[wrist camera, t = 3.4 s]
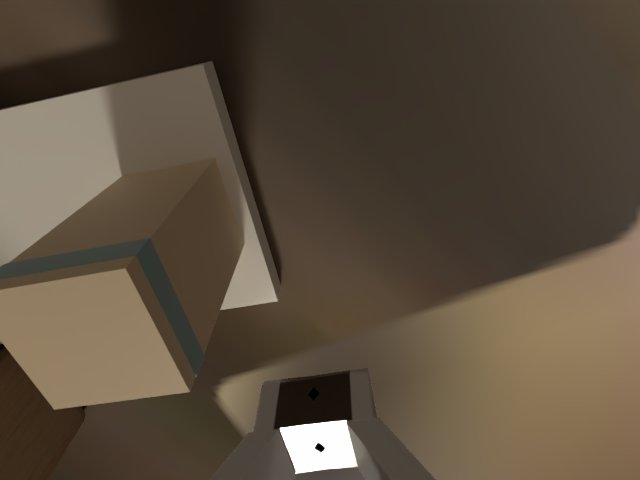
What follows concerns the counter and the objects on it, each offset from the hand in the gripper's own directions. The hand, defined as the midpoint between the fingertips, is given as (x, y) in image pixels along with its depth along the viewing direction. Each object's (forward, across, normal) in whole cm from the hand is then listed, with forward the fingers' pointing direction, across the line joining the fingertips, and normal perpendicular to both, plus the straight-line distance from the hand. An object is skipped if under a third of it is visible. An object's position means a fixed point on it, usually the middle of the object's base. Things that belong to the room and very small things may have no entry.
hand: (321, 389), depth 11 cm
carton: (+15, +9, 0) cm, 18 cm away
